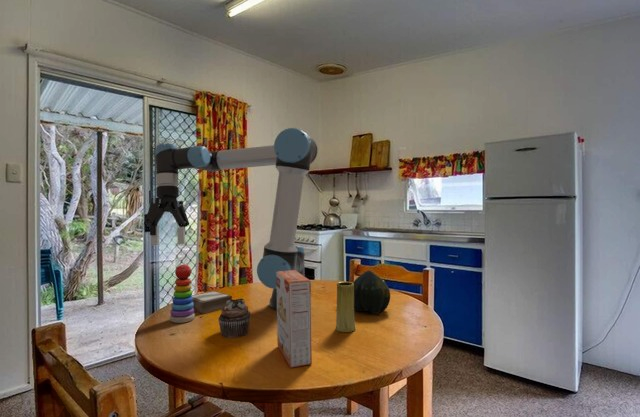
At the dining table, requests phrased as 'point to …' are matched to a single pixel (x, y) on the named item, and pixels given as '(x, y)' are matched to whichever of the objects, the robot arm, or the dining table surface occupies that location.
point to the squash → (370, 293)
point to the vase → (345, 307)
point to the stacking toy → (182, 297)
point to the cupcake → (234, 319)
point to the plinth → (210, 301)
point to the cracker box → (294, 317)
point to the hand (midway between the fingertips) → (169, 244)
